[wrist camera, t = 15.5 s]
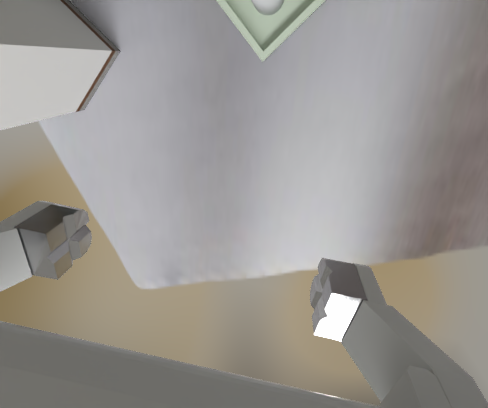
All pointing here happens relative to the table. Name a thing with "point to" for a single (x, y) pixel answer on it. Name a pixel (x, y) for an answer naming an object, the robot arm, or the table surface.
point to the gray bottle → (267, 6)
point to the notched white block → (48, 60)
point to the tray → (268, 22)
